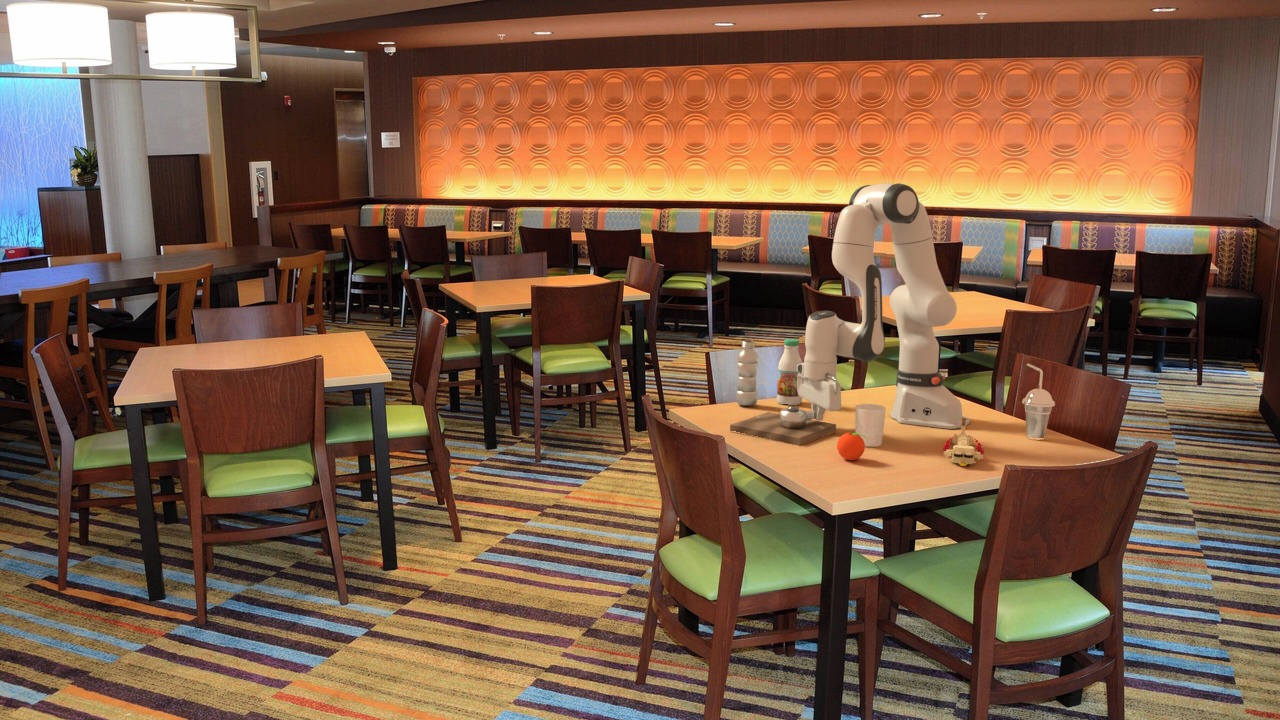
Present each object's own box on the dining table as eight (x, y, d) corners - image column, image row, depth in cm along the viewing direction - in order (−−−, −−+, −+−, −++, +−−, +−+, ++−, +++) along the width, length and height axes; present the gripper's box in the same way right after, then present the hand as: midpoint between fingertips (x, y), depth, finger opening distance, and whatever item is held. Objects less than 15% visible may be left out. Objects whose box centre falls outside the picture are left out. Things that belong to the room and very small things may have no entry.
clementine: (865, 456, 268) (866, 429, 266) (871, 463, 261) (872, 436, 260) (833, 455, 268) (835, 428, 266) (839, 463, 261) (840, 435, 259)
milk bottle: (774, 400, 330) (776, 337, 326) (798, 400, 331) (800, 337, 327) (780, 406, 322) (782, 341, 319) (804, 405, 323) (807, 341, 319)
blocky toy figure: (942, 447, 283) (941, 464, 259) (944, 415, 282) (944, 429, 258) (981, 450, 280) (984, 468, 256) (983, 418, 279) (986, 433, 255)
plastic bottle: (758, 408, 319) (760, 343, 315) (736, 407, 319) (738, 343, 315) (756, 403, 325) (758, 339, 321) (734, 403, 325) (736, 339, 322)
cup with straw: (1024, 441, 284) (1030, 369, 280) (1014, 433, 292) (1020, 363, 289) (1056, 442, 283) (1063, 369, 280) (1045, 434, 292) (1051, 363, 288)
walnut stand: (835, 431, 292) (836, 423, 292) (799, 445, 277) (799, 437, 277) (768, 418, 306) (768, 411, 305) (729, 431, 290) (730, 423, 290)
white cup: (859, 448, 275) (861, 410, 273) (849, 440, 283) (851, 404, 281) (888, 447, 277) (890, 410, 275) (877, 439, 284) (879, 403, 282)
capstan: (794, 429, 284) (794, 411, 283) (774, 424, 289) (775, 407, 288) (831, 420, 295) (831, 403, 294) (811, 416, 300) (812, 399, 299)
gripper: (848, 377, 279) (845, 427, 282) (814, 363, 298) (812, 410, 301) (826, 378, 277) (824, 429, 280) (793, 364, 297) (792, 412, 299)
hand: (817, 419), depth 291 cm, fingers closed
